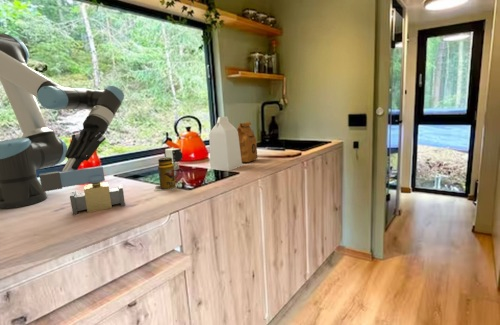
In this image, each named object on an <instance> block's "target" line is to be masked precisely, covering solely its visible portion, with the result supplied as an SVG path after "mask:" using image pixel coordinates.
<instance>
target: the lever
mask: <svg viewBox="0 0 500 325" xmlns="http://www.w3.org/2000/svg"><path fill="white" fill-rule="evenodd" d="M38 176H39V180H40V181H39V182H40V184H41V187H42V192H49V191H51V192H52V191H55V190H56V191H57V190H61V189H63V188H68V187H74V186H79V185H80V186H81V185H88V184H92V183H99V182H100V183H103V182H105V179H106V178H105V172H104V167H103V166H102V165H98V166H92V167H85V168H78V169H77V170H70V171H63V172H62V171H58V170H57V171H52V172H51V171H50V172H44V173H39V175H38Z"/></svg>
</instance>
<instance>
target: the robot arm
mask: <svg viewBox="0 0 500 325" xmlns="http://www.w3.org/2000/svg"><path fill="white" fill-rule="evenodd" d="M29 58H30V53H29V50H28V48H27V46H26V44H25V43H24V42H23V40H21V39H19V38H17V37H15V36H12V35H10V34H8V33H7V34H6V33H0V84H1V85H2V87H3V89H4V93H5V94H6V97H7V99H8V101H9V104H10V107H11V109H12V111H13V114H14V117H15V118H16V120H17V123H18V124H19V127H20V130H21V132H22V135H21V137H16V138H10V139H9V138H8V139H3V140H1V141H0V209H1V210H2V209H14V208H22V207H26V206H30V205H33V204H37V203H40V202H43V201H44V200H46V199H47V191H45V192H42V187H41V181H39V178H38V176H37V170H41V169H45V168H53V167H55V166H57V165H59V164H62V163H64V161H65V160H66V158H67V161H66V162H65V164H64V165H63V168H62V170H61V172H63V171H70V170H77V169H80V166H81V164H82V163H83V162H84V161H86V162H87V161H89V160H90V159H91V157H92V156H93V154H95V152H96V151H97V149H98V148H99V146H100V145H101V144H102V143H104V142H105V140H106V139H107V138H106V137H105V136H104V135H105V133H106V132H107V130H108V128H109V126H110V125H111V124H112V121H113V119H114V117H115V115H116V114H117V112H118V111H119V109H120V107H121V106H122V105H123V104H122V103H123V100H124V99H125V93H124V92H123V90H122V89H121V88H119V87H118V86H117V85H113V84H109V85H106V86H105V87H104V88H103V89H101V90H100V89H89V88H82V87H65V86H61V85H60V84H58V83H56V82H55V81H53V80H52V79H50V78H48V77H46V76H44V75H43V74H41V72H40V73H39V72H38V71H36V70H35V69H32V68H31V67H29V66H28V63H29ZM39 104H40V106H42V107H43V108H44V109H47V110H53V111H54V110H55V111H56V110H57V111H61V110H90V111H89V113H88V115H87V116H86V118H85V119H84V120H83V123H82V127H83V129H82V130H81V131H80V132H79V133H78V134H74V133H73V134H72V135H71V140H70V143H69V145H67V143H66V141H65V140H63V139H62V138H60V137H58V136H56V134H55V131H54V130H52V129H50V128H48V125H47V122H46V120H45V118H44V115H43V113H42V110H41V109H40V106H39Z"/></svg>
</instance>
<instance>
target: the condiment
mask: <svg viewBox="0 0 500 325" xmlns="http://www.w3.org/2000/svg"><path fill="white" fill-rule="evenodd" d="M172 163H173V162H172V158H166V157H161V158H158V166H157V169H158V172H157V173H158V178H159V179H158V180H159V185H155V188H154V192H155V191H164V190H165V191H167V190H175V189H176V190H177V189H178V188H177V187H178V186H177V183H176V176H175V170H174V165H173V164H172Z"/></svg>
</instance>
